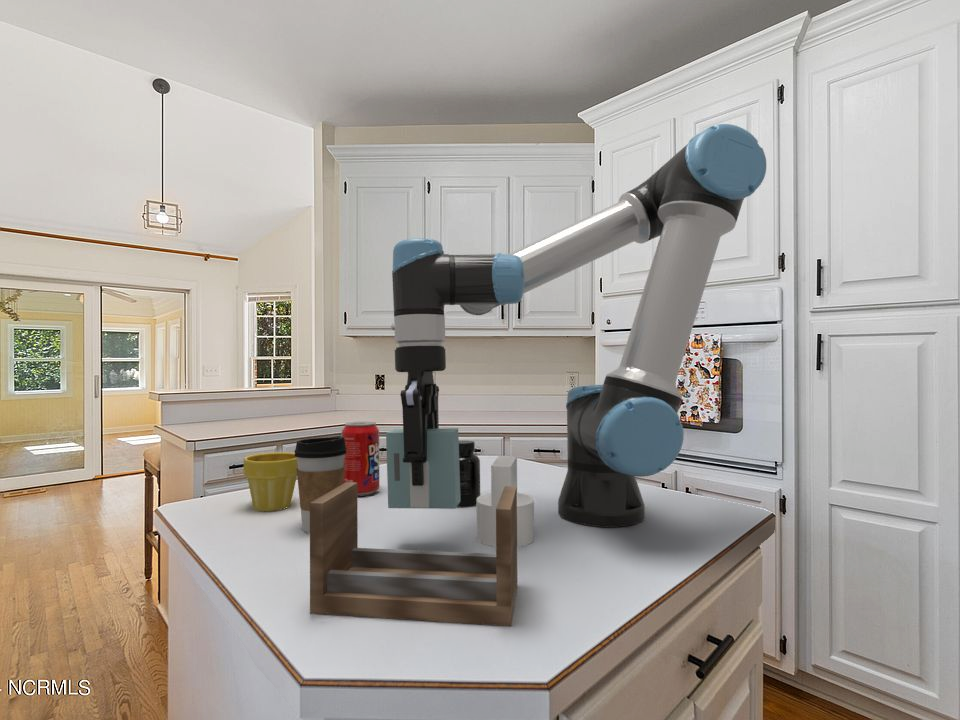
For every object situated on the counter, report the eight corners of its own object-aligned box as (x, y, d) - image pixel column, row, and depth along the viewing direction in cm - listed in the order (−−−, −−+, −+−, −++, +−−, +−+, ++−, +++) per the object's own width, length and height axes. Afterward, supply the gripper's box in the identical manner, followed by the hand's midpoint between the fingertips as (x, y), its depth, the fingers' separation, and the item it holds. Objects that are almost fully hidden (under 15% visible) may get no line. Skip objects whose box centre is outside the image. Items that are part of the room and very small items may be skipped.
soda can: (334, 493, 108) (334, 422, 108) (367, 486, 113) (367, 419, 113) (353, 500, 102) (352, 425, 102) (386, 493, 107) (386, 422, 108)
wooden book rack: (517, 584, 62) (516, 486, 62) (511, 626, 52) (510, 509, 52) (346, 575, 65) (346, 482, 65) (310, 613, 55) (309, 503, 55)
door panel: (460, 501, 76) (458, 428, 77) (455, 508, 72) (453, 431, 73) (396, 500, 78) (394, 429, 78) (388, 508, 74) (386, 432, 74)
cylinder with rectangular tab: (531, 549, 74) (531, 467, 74) (471, 546, 76) (471, 465, 76) (535, 529, 83) (535, 456, 83) (481, 527, 85) (481, 455, 85)
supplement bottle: (487, 501, 101) (486, 440, 101) (467, 509, 95) (467, 445, 95) (458, 496, 104) (458, 438, 104) (438, 504, 98) (438, 442, 99)
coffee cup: (332, 537, 80) (331, 442, 80) (283, 534, 81) (283, 441, 82) (355, 521, 88) (355, 435, 88) (311, 519, 90) (311, 434, 90)
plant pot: (312, 503, 100) (312, 453, 100) (271, 517, 91) (271, 462, 91) (274, 497, 104) (274, 450, 105) (231, 510, 95) (231, 458, 95)
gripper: (411, 347, 84) (414, 488, 84) (376, 344, 67) (380, 519, 67) (455, 346, 83) (459, 488, 83) (431, 342, 66) (436, 520, 66)
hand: (424, 502), depth 75 cm, fingers closed on door panel, 4 cm apart
